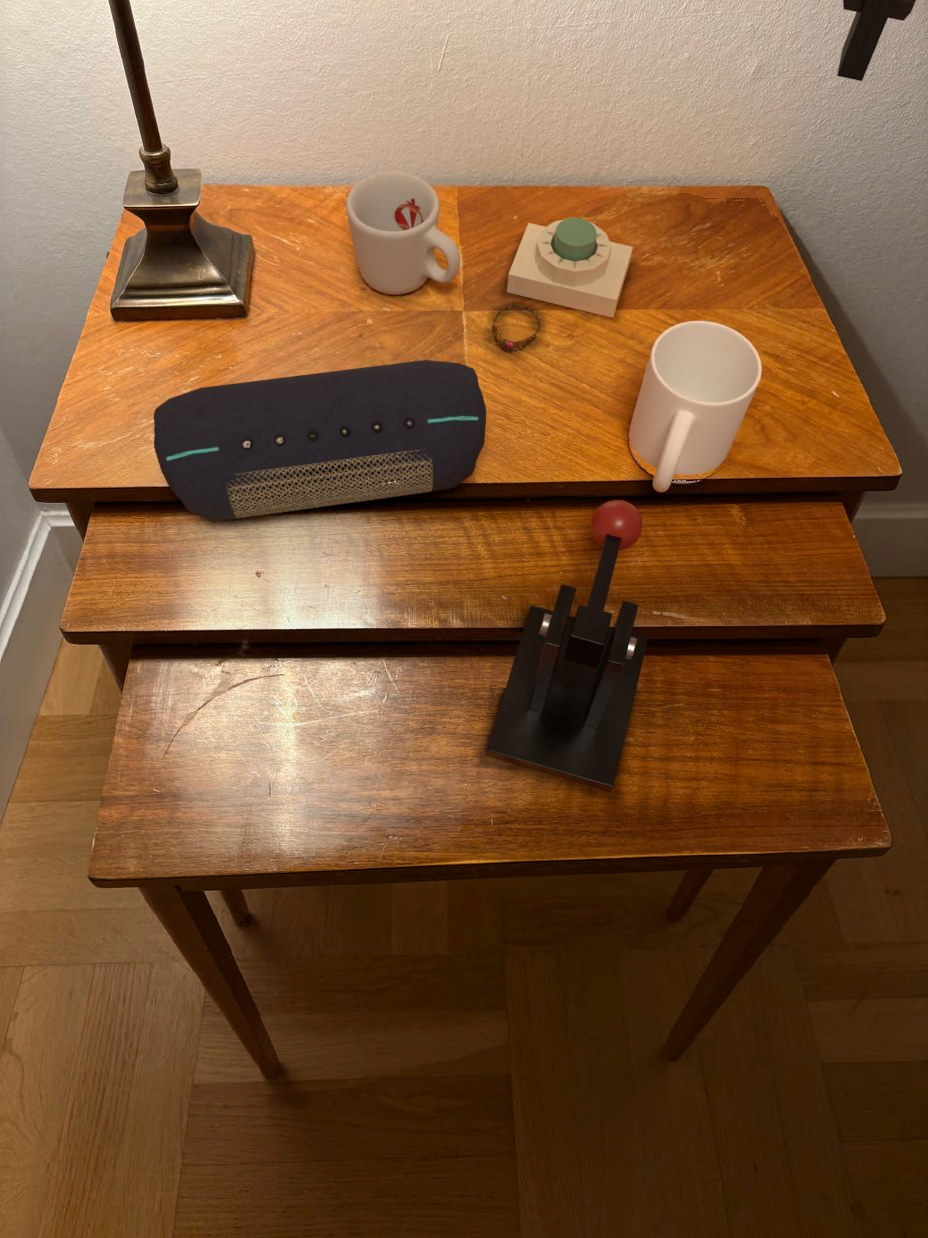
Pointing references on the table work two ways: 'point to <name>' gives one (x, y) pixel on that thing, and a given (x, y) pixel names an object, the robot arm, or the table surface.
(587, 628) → the lever
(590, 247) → the button
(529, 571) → the table surface
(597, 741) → the lever base
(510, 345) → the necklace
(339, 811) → the table surface
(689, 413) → the mug
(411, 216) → the cup
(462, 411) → the portable speaker
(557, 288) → the button block
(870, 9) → the robot arm
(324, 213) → the table surface
